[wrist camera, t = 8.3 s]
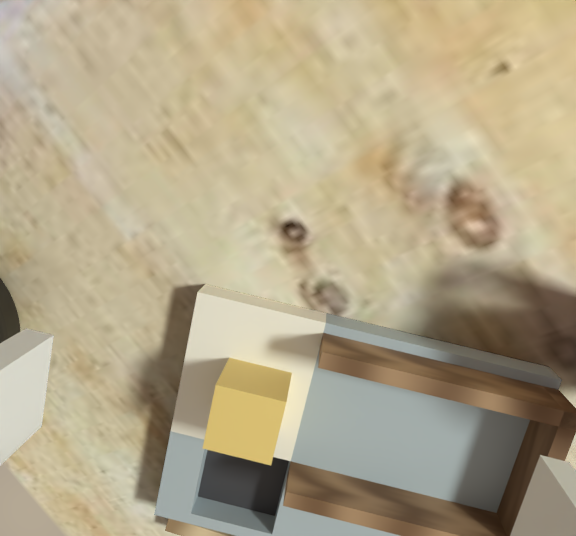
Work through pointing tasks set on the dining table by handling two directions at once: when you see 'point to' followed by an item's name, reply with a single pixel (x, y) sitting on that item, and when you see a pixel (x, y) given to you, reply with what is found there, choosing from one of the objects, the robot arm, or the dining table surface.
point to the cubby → (448, 385)
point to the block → (247, 411)
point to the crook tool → (191, 529)
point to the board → (330, 422)
